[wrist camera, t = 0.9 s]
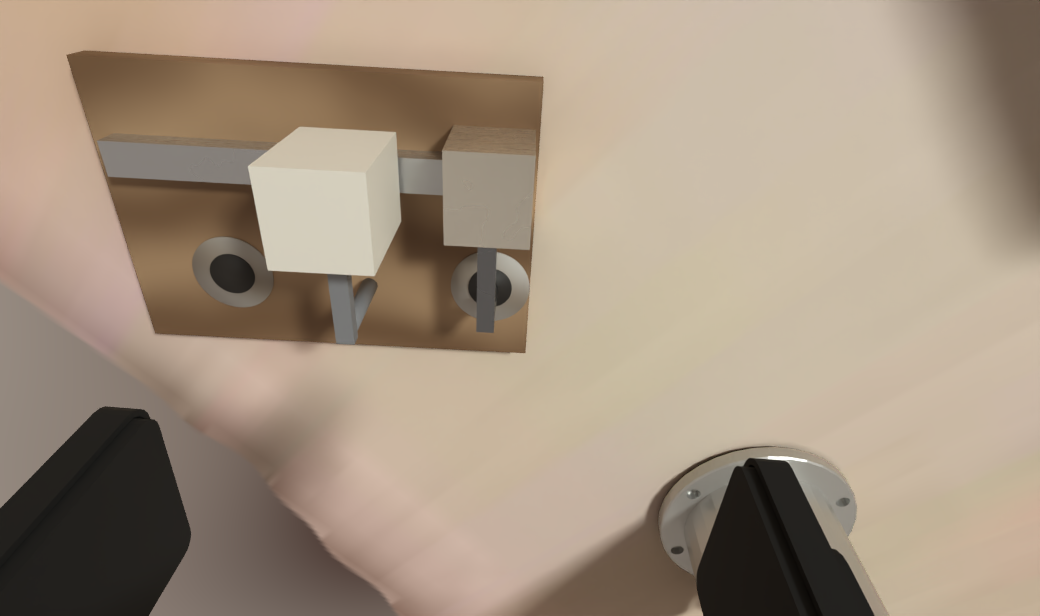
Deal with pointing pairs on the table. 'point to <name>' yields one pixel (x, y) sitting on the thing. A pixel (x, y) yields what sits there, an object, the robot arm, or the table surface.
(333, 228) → the sliding leg
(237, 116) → the hole board
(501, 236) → the beam
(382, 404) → the table surface
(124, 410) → the robot arm
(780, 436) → the table surface
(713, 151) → the table surface
